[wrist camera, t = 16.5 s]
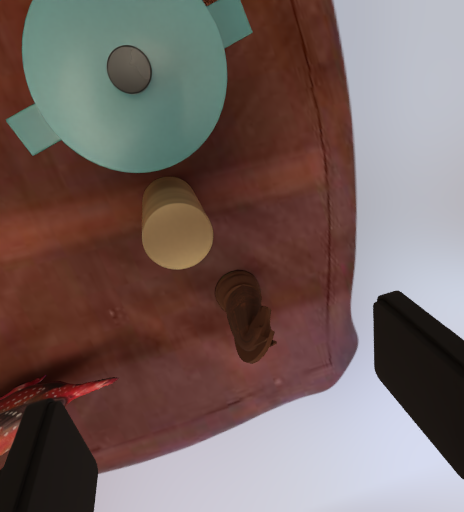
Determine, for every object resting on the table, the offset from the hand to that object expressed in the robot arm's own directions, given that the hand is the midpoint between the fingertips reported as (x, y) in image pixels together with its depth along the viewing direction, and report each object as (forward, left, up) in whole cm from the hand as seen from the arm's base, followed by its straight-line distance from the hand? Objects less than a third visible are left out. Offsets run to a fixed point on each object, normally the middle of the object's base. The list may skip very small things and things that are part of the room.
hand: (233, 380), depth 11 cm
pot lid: (-9, -1, -17) cm, 19 cm away
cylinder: (+1, -1, -24) cm, 24 cm away
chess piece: (+12, +3, -24) cm, 27 cm away
